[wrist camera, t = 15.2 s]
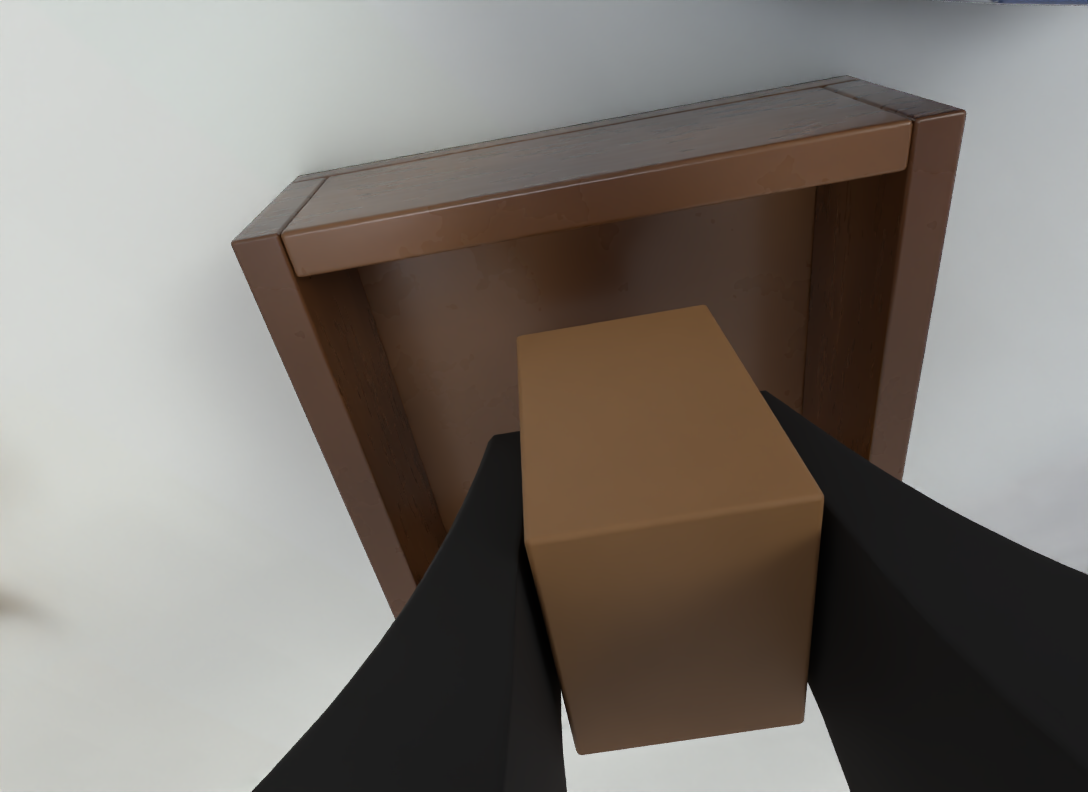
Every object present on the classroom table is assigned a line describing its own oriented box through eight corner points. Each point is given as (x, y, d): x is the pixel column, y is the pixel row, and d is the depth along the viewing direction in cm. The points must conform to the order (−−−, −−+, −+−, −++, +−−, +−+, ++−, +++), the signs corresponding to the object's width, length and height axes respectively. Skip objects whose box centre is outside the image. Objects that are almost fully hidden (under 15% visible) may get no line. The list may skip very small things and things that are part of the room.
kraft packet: (706, 302, 10) (827, 495, 6) (712, 495, 12) (805, 725, 9) (515, 334, 10) (523, 543, 7) (554, 520, 12) (577, 757, 9)
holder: (849, 74, 13) (969, 108, 10) (812, 522, 20) (876, 634, 17) (296, 175, 14) (229, 242, 10) (441, 580, 21) (430, 700, 17)
